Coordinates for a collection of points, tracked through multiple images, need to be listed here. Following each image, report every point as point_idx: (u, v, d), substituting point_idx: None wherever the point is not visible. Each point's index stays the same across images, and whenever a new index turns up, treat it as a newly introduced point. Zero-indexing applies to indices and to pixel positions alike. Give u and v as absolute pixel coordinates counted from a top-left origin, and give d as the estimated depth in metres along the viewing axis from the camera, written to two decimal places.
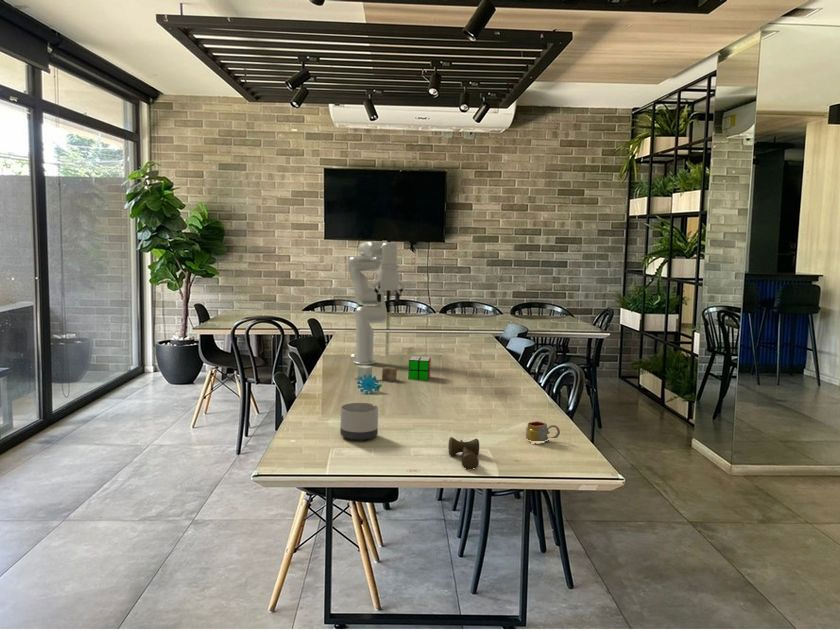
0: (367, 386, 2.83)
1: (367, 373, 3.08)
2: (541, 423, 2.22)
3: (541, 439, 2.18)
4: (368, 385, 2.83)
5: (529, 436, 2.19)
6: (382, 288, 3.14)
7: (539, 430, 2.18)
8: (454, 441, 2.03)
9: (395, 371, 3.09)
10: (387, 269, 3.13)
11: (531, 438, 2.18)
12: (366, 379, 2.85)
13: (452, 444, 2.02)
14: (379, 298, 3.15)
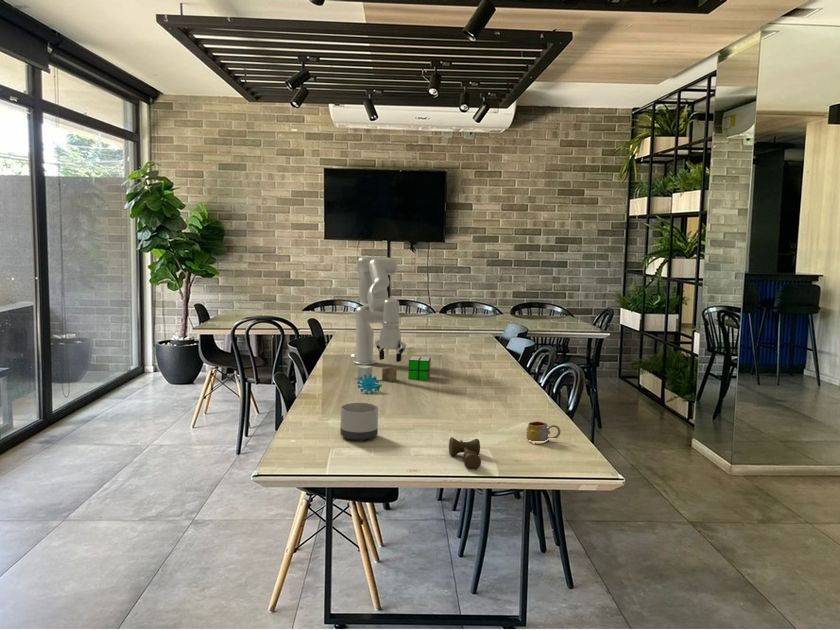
0: (367, 386, 2.83)
1: (367, 373, 3.08)
2: (542, 423, 2.22)
3: (542, 439, 2.18)
4: (368, 385, 2.83)
5: (530, 436, 2.19)
6: None
7: (539, 430, 2.18)
8: (455, 441, 2.02)
9: (395, 371, 3.09)
10: None
11: (531, 438, 2.18)
12: (366, 379, 2.85)
13: (453, 444, 2.01)
14: (400, 357, 3.06)
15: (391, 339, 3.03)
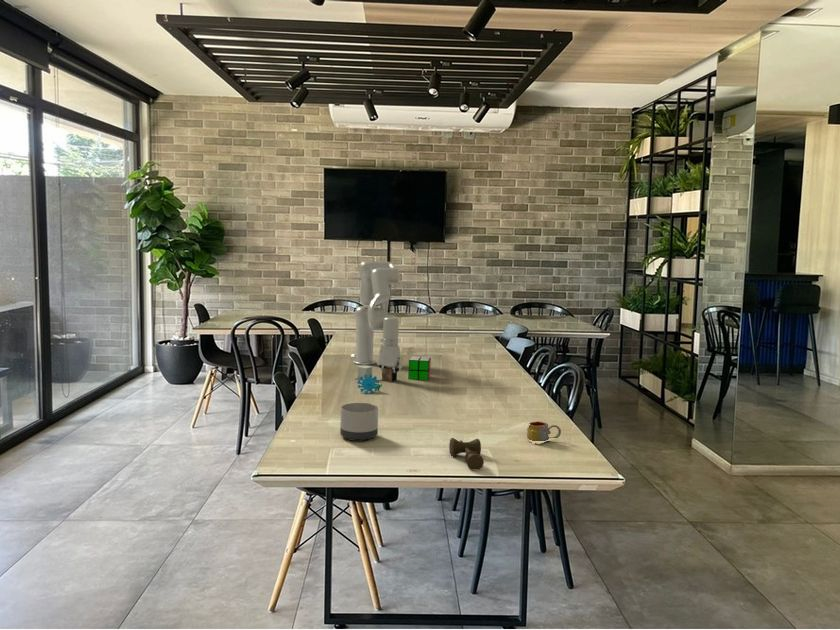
0: (367, 386, 2.83)
1: (367, 373, 3.08)
2: (542, 423, 2.22)
3: (542, 439, 2.18)
4: (368, 385, 2.84)
5: (530, 436, 2.19)
6: None
7: (540, 430, 2.18)
8: (456, 442, 2.02)
9: None
10: None
11: (532, 438, 2.18)
12: (366, 379, 2.86)
13: (454, 445, 2.01)
14: None
15: (390, 357, 3.04)
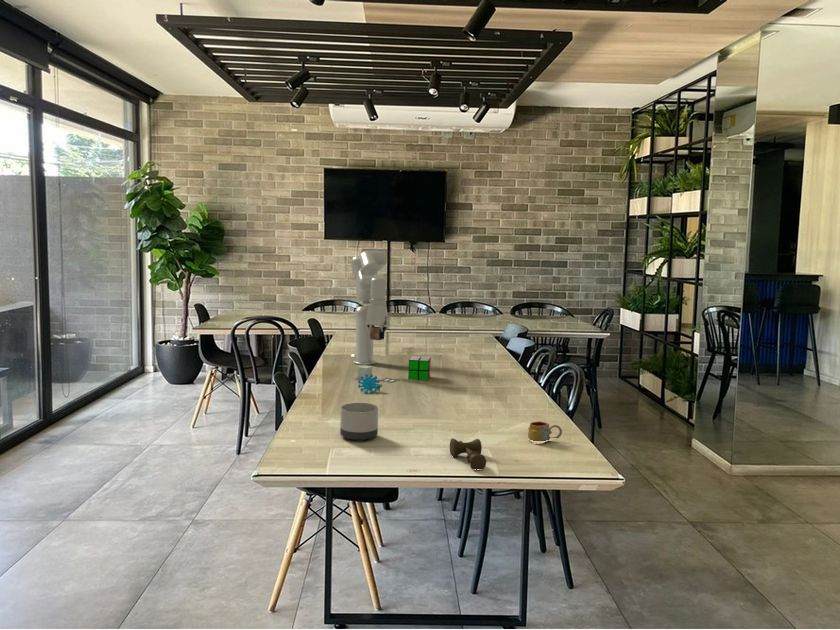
0: (367, 386, 2.84)
1: (367, 373, 3.08)
2: (543, 423, 2.22)
3: (543, 439, 2.18)
4: (368, 385, 2.84)
5: (531, 436, 2.19)
6: None
7: (541, 430, 2.18)
8: (457, 442, 2.01)
9: None
10: None
11: (533, 438, 2.18)
12: (367, 379, 2.86)
13: (455, 445, 2.00)
14: (383, 335, 3.17)
15: (378, 316, 3.13)
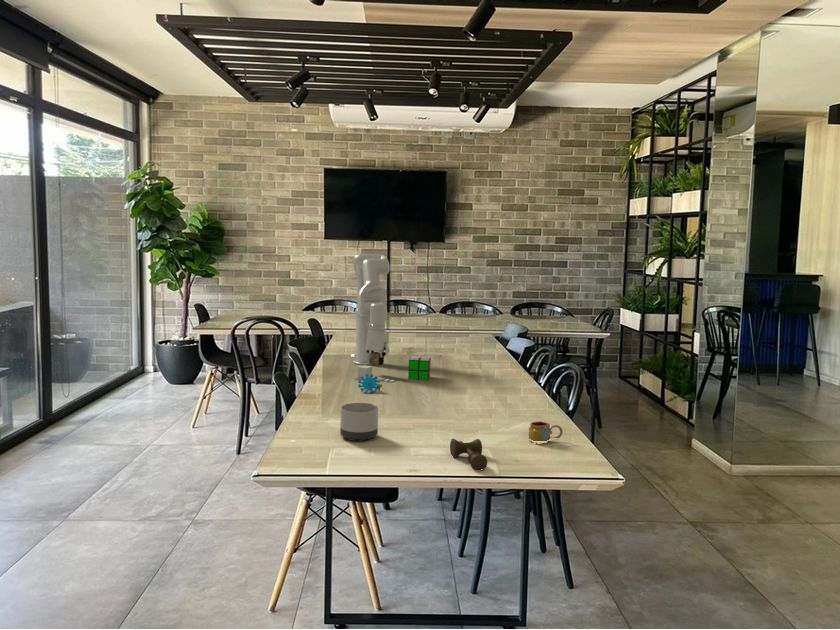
0: (367, 385, 2.84)
1: (367, 373, 3.08)
2: (544, 423, 2.22)
3: (544, 439, 2.18)
4: (368, 384, 2.84)
5: (532, 436, 2.19)
6: None
7: (542, 430, 2.18)
8: (457, 442, 2.01)
9: None
10: None
11: (533, 438, 2.18)
12: (367, 378, 2.86)
13: (456, 446, 2.00)
14: None
15: (377, 341, 3.15)
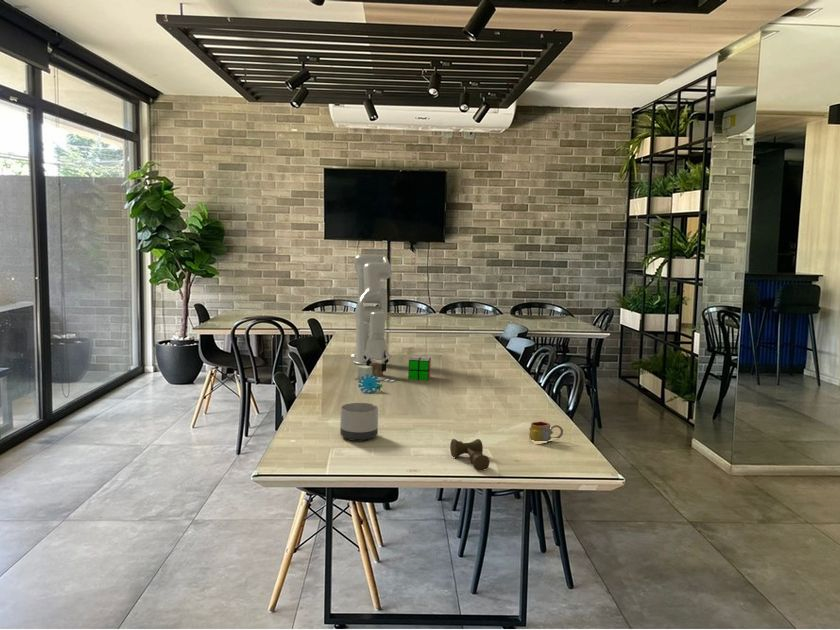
0: (367, 385, 2.84)
1: (367, 373, 3.08)
2: (544, 423, 2.22)
3: (544, 439, 2.18)
4: (369, 384, 2.85)
5: (532, 436, 2.19)
6: None
7: (542, 430, 2.18)
8: (458, 443, 2.01)
9: None
10: None
11: (534, 438, 2.18)
12: (367, 378, 2.87)
13: (457, 446, 2.00)
14: (385, 367, 3.18)
15: (377, 350, 3.15)
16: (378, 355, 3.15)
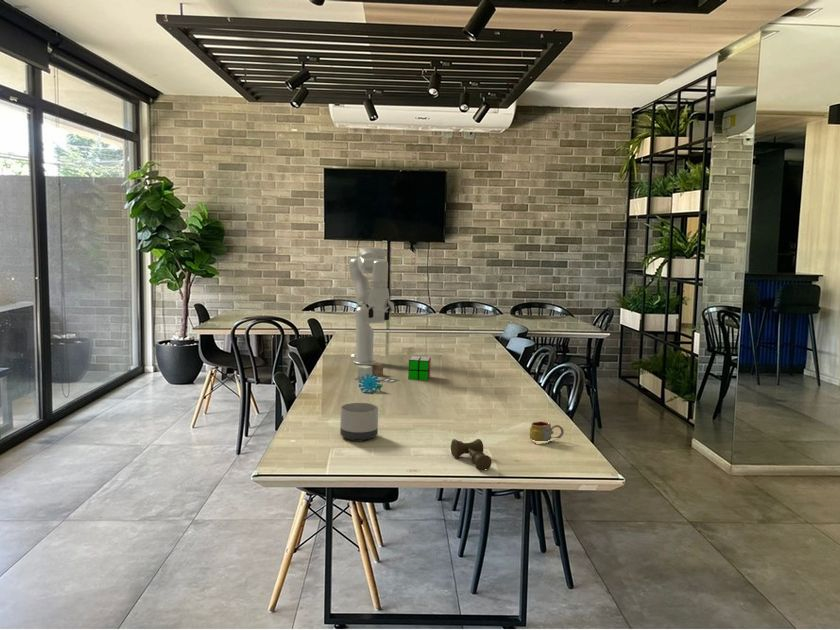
0: (368, 385, 2.85)
1: (367, 373, 3.08)
2: (545, 423, 2.22)
3: (545, 439, 2.18)
4: (369, 384, 2.85)
5: (533, 436, 2.19)
6: None
7: (543, 430, 2.18)
8: (459, 443, 2.01)
9: (382, 366, 3.20)
10: None
11: (534, 438, 2.18)
12: (368, 378, 2.87)
13: (458, 446, 2.00)
14: (388, 316, 3.19)
15: (379, 298, 3.15)
16: (381, 304, 3.15)
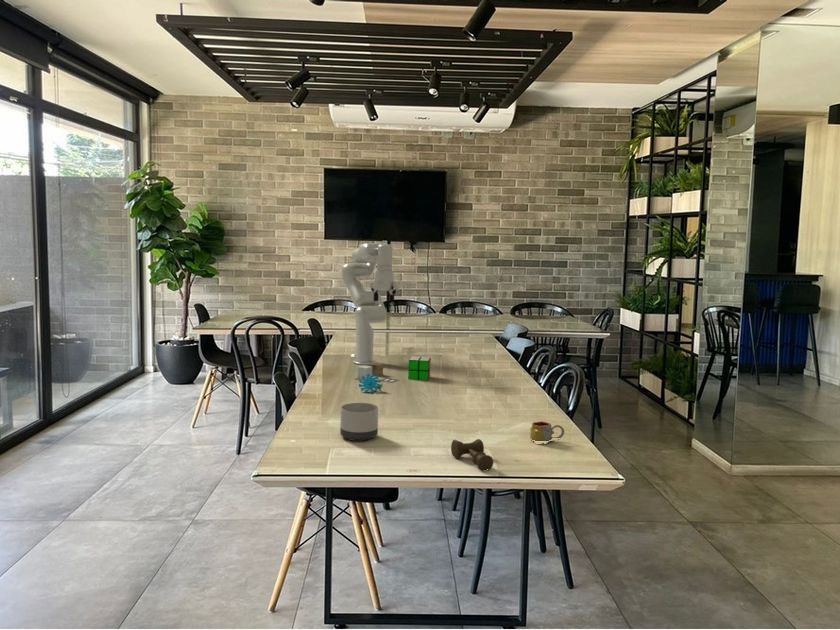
0: (368, 385, 2.85)
1: (367, 373, 3.08)
2: (545, 423, 2.22)
3: (545, 439, 2.18)
4: (369, 384, 2.85)
5: (534, 436, 2.19)
6: None
7: (543, 430, 2.18)
8: (460, 443, 2.00)
9: (382, 366, 3.20)
10: None
11: (535, 438, 2.18)
12: (368, 378, 2.87)
13: (459, 447, 1.99)
14: (393, 298, 3.26)
15: (385, 281, 3.23)
16: (386, 286, 3.23)
